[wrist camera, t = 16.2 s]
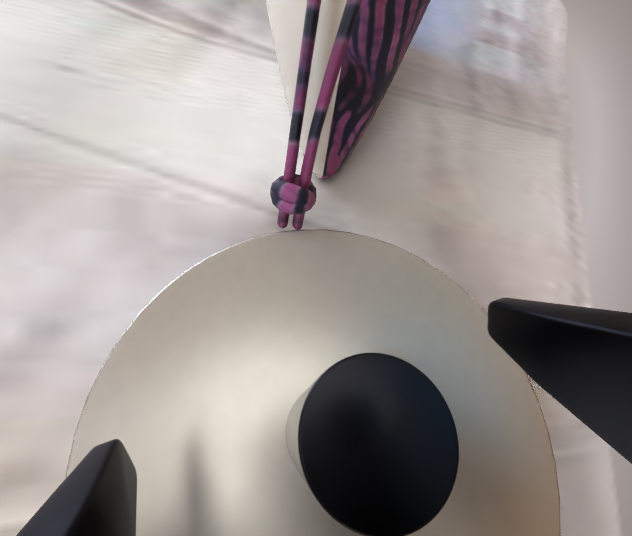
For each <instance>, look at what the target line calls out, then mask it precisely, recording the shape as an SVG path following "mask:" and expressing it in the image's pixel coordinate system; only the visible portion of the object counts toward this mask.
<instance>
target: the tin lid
mask: <svg viewBox="0 0 632 536" xmlns="http://www.w3.org/2000/svg"><path fill="white" fill-rule="evenodd" d="M487 324H488V315H487V314H486V313H485V312H484V311H483V309H482V308H481V307H480V306H479V305H478V304H477V302H476V301H475V300H473V299H472V298H471V297H470V296H469V295H468V294H467V293H466V292H465V291H464V290H463V289H462V288H461V287H460V286H459V285H458V284H456V283H455V282H454V281H452V280H451V279H450V278H448V277H447V276H446V275H445V274H443V273H442V272H441V271H439V270H438V269H437V268H435V267H433V266H432V265H430V264H428V263H427V262H425V261H424V260H422V259H420V258H419V257H417V256H415V255H413V254H411V253H409V252H407V251H405V250H403V249H401V248H398V247H396V246H394V245H391V244H389V243H386V242H383V241H380V240H377V239H374V238H371V237H367V236H362V235H358V234H354V233H350V232H341V231H333V230H294V231H284V232H277V233H273V234H268V235H264V236H259V237H255V238H252V239H249V240H246V241H243V242H240V243H238V244H235V245H232V246H230V247H228V248H225V249H223V250H221V251H219V252H217V253H215V254H213V255H211V256H209V257H207V258H205V259H204V260H202V261H201V262H199V263H197V264H196V265H194V266H193V267H191V268H189V269H188V270H186V271H185V272H183V273H182V274H181V275H180V276H178V277H177V278H176V279H175V280H173V281H172V282H171V283H170V284H168V285H167V286H166V287H165V288H163V289H162V290H161V291H160V292H159V293H158V294H157V295H156V296H155V297H154V298H153V299H152V300H151V301H150V302H149V303H148V304H147V305H146V306H145V307H144V308H143V309H142V310H141V311H140V313H139V314H138V315H137V316H136V318H135V319H134V320H133V321H132V323H131V324H130V325H129V326H128V328H127V329H126V330H125V332H124V333H123V334H122V335H121V337H120V338H119V340H118V342H117V343H116V345H115V346H114V348H113V349H112V351H111V353H110V354H109V356H108V357H107V359H106V361H105V362H104V364H103V366H102V368H101V370H100V372H99V374H98V376H97V378H96V380H95V382H94V385H93V387H92V389H91V391H90V393H89V395H88V397H87V400H86V403H85V406H84V409H83V411H82V414H81V417H80V420H79V423H78V426H77V429H76V432H75V435H74V440H73V444H72V449H71V453H70V458H69V463H68V467H67V472H66V478H67V477H68V476H69V475H70V473H71V472H72V471H73V470H74V469H75V468H76V467H77V465H78V464H79V463H80V462H81V461H82V460H83V458H84V457H85V456H86V455H87V454H88V453H89V452H90V450H92V448H94V447H95V446H97V445H99V444H102V443H105V442H108V441H110V440H113V439H119V440H120V441H121V442H122V443H123V445H124V447H125V449H126V451H127V453H128V454H129V456H130V458H131V460H132V462H133V464H134V466H135V469H136V473H137V507H136V536H560V497H559V489H558V481H557V473H556V465H555V460H554V455H553V451H552V446H551V442H550V438H549V433H548V429H547V426H546V423H545V420H544V417H543V414H542V411H541V408H540V405H539V402H538V399H537V397H536V395H535V393H534V390H533V388H532V386H531V384H530V382H529V379H528V377H527V375H526V373H525V371H524V370H523V369H522V368H521V367H520V366H519V365H518V364H517V363H516V362H515V361H514V360H513V359H512V358H511V357H510V356H509V355H508V354H507V353H506V352H505V351H504V350H503V349H502V348H501V347H500V346H499V345H498V344H497V343H496V342H495V341H494V340H493V339H492V338H491V337H490V335H489V333H488V330H487Z"/></svg>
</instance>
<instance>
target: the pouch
mask: <svg viewBox="0 0 632 536" xmlns="http://www.w3.org/2000/svg"><path fill="white" fill-rule="evenodd" d="M429 2H430V0H266V3H267V10H268V15H269V20H270V25H271V30H272V36H273V41H274V46H275V50H276V54H277V59H278V65H279V70H280V74H281V78H282V82H283V87H284V92H285V97H286V100H287V104H288V107H289V111H290V116H291V127H290V134H289V142H288V149H287V156H286V164H285V171H284V176H281V177H279V178H278V179H277V180H276V181H274V182H273V183H272V186H271V190H270V195H271V199H272V202H273V204H274V205H275V206H276V207H277V208H278V209H279V215H278V225H279V227H281V228H285V227H286V226H287V224H288V218H289V214H294V216H293V222H292V225H293V227H294V228H295V229H296V230H299V229H301V228H302V225H303V220H304V214H305V212H306V211H308V210H310V209H311V208H312V206H313V205H314V204H315V202H316V188H315V187H314V185H313V184H312V182H311V176H312V172H313V174H314V175H315V176H316V177H319V178H329V177H330V176H332V175H333V174H335V173H336V172H338V171H339V170H340V169H341V167H342V166H343V164H344V163H345V161H346V160H347V158H348V157H349V155H350V154H351V152H352V150H353V149H354V147H355V146H356V144H357V143H358V141H359V140H360V138H361V136H362V135H363V133H364V131H365V129H366V128H367V126H368V124H369V123H370V121H371V119H372V117H373V116H374V114H375V112H376V110H377V108H378V106H379V104H380V102H381V101H382V99H383V97H384V95H385V93H386V91H387V89H388V87H389V85H390V83H391V81H392V79H393V77H394V75H395V73H396V71H397V69H398V67H399V65H400V63H401V61H402V59H403V57H404V55H405V53H406V51H407V49H408V47H409V45H410V43H411V41H412V38H413V36H414V34H415V32H416V30H417V28H418V26H419V24H420V22H421V20H422V17H423V15H424V13H425V11H426V9H427V7H428V4H429ZM299 146H300V148H301V150H302V152H303V154H304V160H303V165H302V170H301V175H297V174H295V171H296V164H297V158H298V151H299Z"/></svg>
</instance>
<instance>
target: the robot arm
mask: <svg viewBox="0 0 632 536" xmlns="http://www.w3.org/2000/svg"><path fill="white" fill-rule="evenodd" d="M487 330H488V333H489V335H490V337H491V338H492V339H493V340H494V341H495V342H496V343H497V344H498V345H499V346H500V347H501V348H502V349H503V350H504V351H505V352H506V353H507V354H508V355H509V356H510V357H511V358H512V359H513V360H514V361H515V362H516V363H517V364H518V365H519V366H520V367H521V368H522V369H523V370H524V371H525V372H526V373H527V374H528V375H529V376H530V377H531V378H532V379H533V380H534V381H535V382H536V383H537V384H538V385H540V386H541V387H542V388H543V389H544V390H545V391H547V392H548V393H549V394H550V395H551V396H552V397H554V398H555V399H556V400H557V401H558V402H559V403H561V404H562V405H563V406H564V407H565V408H567V409H568V410H569V411H570V412H571V413H572V414H574V415H575V416H576V417H577V418H578V419H580V420H581V421H582V422H583V423H584V424H585V425H587V426H588V427H589V428H590V429H591V430H592V431H594V432H595V433H596V434H597V435H598V436H600V437H601V438H602V439H603V440H604V441H605V442H607V443H608V444H609V445H610V446H611V447H613V448H614V449H615V450H616V451H617V452H618V453H620V454H621V455H622V456H623V457H624V458H625V459H627V460H628V461H629V462H630V463H632V313H627V312H619V311H611V310H602V309H594V308H586V307H578V306H570V305H562V304H554V303H545V302H537V301H529V300H521V299H513V298H501V299H498V300H495V301H493V302H491V303H490V304H489V306H488V324H487ZM136 507H137V473H136V469H135V466H134V464H133V462H132V460H131V458H130V456H129V454H128V453H127V451H126V449H125V447H124V445H123V443H122V442H121V441H120V440H119V439H113V440H110V441H108V442H105V443H102V444H99V445H97V446H95V447H94V448H92V450H90V452H89V453H88V454H87V455H86V456H85V457H84V458H83V460H82V461H81V462H80V463H79V464H78V465H77V467H76V468H75V469H74V470H73V471H72V472H71V473H70V475H69V476H68V477H67V478H66V479H65V480H64V481H63V483H62V484H61V485H60V486H59V487H58V488H57V489H56V491H55V492H54V493H53V494H52V495H51V496H50V497H49V499H48V500H47V501H46V502H45V503H44V504H43V505H42V507H41V508H40V509H39V510H38V511H37V512H36V514H35V515H34V516H33V517H32V518H31V519H30V520H29V522H28V523H27V524H26V525H25V526H24V527H23V528H22V530H21V531H20V532H19V533H18V534H17V535H16V536H136Z"/></svg>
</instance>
